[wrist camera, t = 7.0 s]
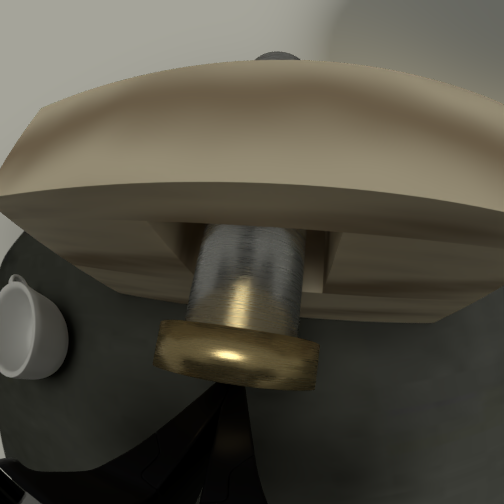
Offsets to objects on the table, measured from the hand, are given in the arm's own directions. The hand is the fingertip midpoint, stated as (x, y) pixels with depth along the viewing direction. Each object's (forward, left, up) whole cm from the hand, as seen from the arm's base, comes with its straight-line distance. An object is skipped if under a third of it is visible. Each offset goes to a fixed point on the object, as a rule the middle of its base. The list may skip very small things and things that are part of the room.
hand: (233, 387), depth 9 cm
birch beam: (+2, +7, -9) cm, 12 cm away
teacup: (-19, +5, -9) cm, 21 cm away
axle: (+2, +9, -3) cm, 9 cm away
